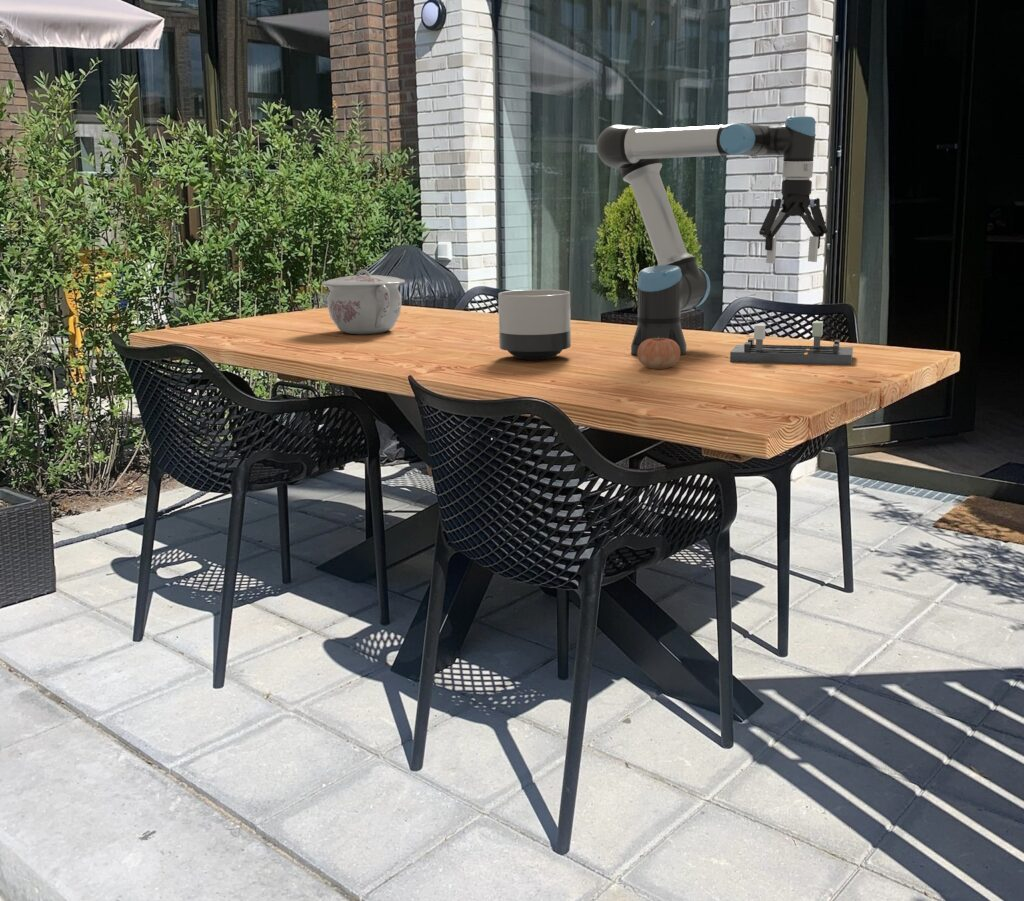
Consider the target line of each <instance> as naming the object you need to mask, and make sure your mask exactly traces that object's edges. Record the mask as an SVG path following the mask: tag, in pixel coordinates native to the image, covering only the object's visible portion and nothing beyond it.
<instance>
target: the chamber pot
mask: <svg viewBox="0 0 1024 901" xmlns="http://www.w3.org/2000/svg"><path fill="white" fill-rule="evenodd" d="M363 273H364V274H363ZM405 282H406V280H405V279H403V278H400V277H396V276H395V277H394V276H390V275H389V276H388V275H381V274H380V275H379V274H370V272H369V271H368V270H367V269H364V268H361V269H360V270H358V271H357V272H356V274H354V275H348V276H340V277H336V278H332V279H327V280H325V281H323V282H322V283H321V285H322V286H324V287H327V288H328V290H329V293H328V295H327V297H326V306H327V308H328V309H327V310H328V314H329V317H330V319H331V320H332V322H333V323H334V325H335V327H336V328H337V329H338V330H339V331H341V332H343V333H346V334H348V335H358V336H359V335H377V334H383V333H386V332H388V331H391V330H392V329H393V328H394V326H395V325H396V323H397V321H398V319H399V317H400V314H401V311H402V309H401V308H402V302H403V301H402V300H403V298H402V294H401V291H399V286H400V284H404V283H405Z"/></svg>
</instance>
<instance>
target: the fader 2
mask: <svg viewBox="0 0 1024 901" xmlns="http://www.w3.org/2000/svg"><path fill="white" fill-rule="evenodd" d="M823 326H824V321H823V320H819V321H818V320H816V321H813V322H812V330H811V332H812V333H811V336H812V337H813V345H812V346H813V347H820V346H821V338H822V337H823V331H824V330H823V329H824V328H823Z"/></svg>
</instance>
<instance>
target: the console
mask: <svg viewBox="0 0 1024 901" xmlns="http://www.w3.org/2000/svg"><path fill="white" fill-rule="evenodd" d="M840 341H841V340H840V339H834V341H833V342H834V343H833V345H832V346H831V345H820V347H813V346H814V345H789V344H788V345H787V344H763V350H756V344H755V339H754V337H753V338H752V337H749V338H748V339H747V341H746V342H745V343H744V344H736V345H735V346H734V347H733V349H732V350H731V351H730V353H729V358H730V359H729V361H730V362H734V363H735V362H736V363H766V364H767V363H768V364H769V363H774V364H805V365H806V364H807V365H808V364H810V365H811V364H812V365H813V364H814V365H843V366H845V365H846V366H849V365H850V366H851V365H852V362H853V353H854V347H853V346H847V347H846V346H840Z"/></svg>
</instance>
